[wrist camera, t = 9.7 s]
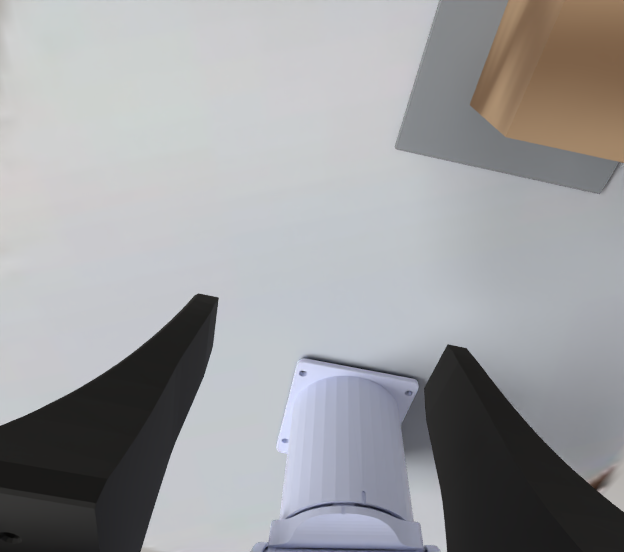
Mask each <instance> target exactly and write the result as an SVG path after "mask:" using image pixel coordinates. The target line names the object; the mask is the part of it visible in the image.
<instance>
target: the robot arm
mask: <svg viewBox="0 0 624 552" xmlns="http://www.w3.org/2000/svg"><path fill="white" fill-rule="evenodd" d="M218 299H219V298H218V297H213V296H208V295H203V294H197V295H195V296H194V297H193V298H192V299H191V300H190V301H189V302H188V304H187V305H186V306H185V307H184V308H183V309H182V310H181V311H180V312H179V313H178V314H177V315H176V316H175V317H174V318H173V319H172V320H171V321H170V322H169V323H167V324H166V325H165V326H164V327H163V328H162V329H161V330H160V331H159V332H158V333H156V334H155V335H154V336H153V337H152V338H151V339H149V340H148V341H147V342H146V343H144V344H143V345H142V346H141V347H139V348H138V349H137V350H136V351H134V352H133V353H132V354H131V355H129V356H128V357H127V358H125V359H124V360H122V361H121V362H120V363H118V364H117V365H115V366H114V367H112V368H111V369H109V370H108V371H106V372H105V373H103V374H102V375H100V376H99V377H97V378H95V379H94V380H92V381H90V382H89V383H87V384H85V385H84V386H82V387H80V388H79V389H77V390H75V391H73V392H71V393H70V394H68V395H66V396H64V397H62V398H60V399H58V400H56V401H54V402H52V403H50V404H48V405H46V406H44V407H42V408H40V409H38V410H36V411H34V412H32V413H30V414H28V415H25V416H23V417H21V418H18V419H16V420H13V421H11V422H9V423H6V424H4V425H1V426H0V552H140V551H141V548H142V545H143V541H144V538H145V535H146V532H147V528H148V525H149V522H150V518H151V515H152V512H153V509H154V506H155V502H156V499H157V496H158V493H159V490H160V486H161V483H162V480H163V477H164V474H165V471H166V468H167V465H168V462H169V459H170V455H171V453H172V450H173V447H174V445H175V442H176V440H177V437H178V435H179V433H180V430H181V428H182V426H183V423H184V421H185V419H186V417H187V414H188V412H189V410H190V407H191V405H192V403H193V400H194V398H195V396H196V393H197V391H198V389H199V386H200V384H201V382H202V379H203V377H204V374H205V371H206V367H207V364H208V361H209V357H210V354H211V351H212V347H213V340H214V331H215V323H216V315H217V307H218ZM301 371H306V372H301ZM418 389H419V384H418V381H417V380H415V379H412V378H407V377H401V376H396V375H391V374H386V373H380V372H375V371H370V370H364V369H359V368H354V367H348V366H343V365H338V364H332V363H327V362H322V361H316V360H311V359H300V360H299V361H298V362H297V365H296V369H295V373H294V377H293V381H292V385H291V389H290V393H289V397H288V401H287V405H286V409H285V413H284V417H283V421H282V425H281V429H280V433H279V437H278V441H277V445H276V449H277V451H279V452H281V453H286V454H287V461H286V469H285V478H284V486H283V495H282V504H281V512H280V520H273V521H271V528H270V535H269V542H258V543H256V544H255V545H254V546H253V548H252V549H251V551H250V552H441V551H440V549H439V548H438V547H437V546H434V545H424V546H423V540H422V533H421V526H420V523H419V522H414V519H413V512H412V505H411V497H410V490H409V483H408V475H407V468H406V460H405V453H404V446H403V438H402V431H401V424H402V422H403V420H404V418H405V416H406V414H407V412H408V410H409V408H410V405H411V403H412V401H413V399H414V397H415V395H416V393H417V391H418ZM408 390H410V391H408ZM424 392H425V409H426V420H427V425H428V430H429V435H430V440H431V445H432V450H433V455H434V460H435V464H436V469H437V474H438V479H439V484H440V489H441V495H442V501H443V510H444V520H445V530H446V541H447V552H624V512H623V511H621V510H620V509H619V508H618V507H616V506H615V505H614V504H612V503H611V502H610V501H609V500H608V499H606V498H605V497H604V496H603V495H601V494H600V493H599V492H598V491H597V490H595V489H594V488H593V487H592V486H591V485H590V484H589V483H587V482H586V481H585V480H584V479H583V478H582V477H581V476H579V475H578V474H577V473H576V472H575V471H574V470H573V469H572V468H571V467H569V466H568V465H567V464H566V463H565V462H564V461H563V460H562V459H561V458H560V457H559V456H558V455H557V454H556V453H555V452H554V451H553V450H552V449H551V448H550V447H549V446H548V445H547V444H546V443H545V442H544V441H543V440H542V439H541V438H540V437H539V436H538V435H537V434H536V433H535V431H534V430H533V429H532V428H531V427H530V426H529V425H528V424H527V422H526V421H525V420H524V419H523V418H522V417H521V416H520V414H519V413H518V412H517V411H516V410H515V409H514V407H513V406H512V405H511V404H510V403H509V401H508V400H507V399H506V398H505V396H504V395H503V394H502V393H501V391H500V390H499V389H498V388H497V386H496V385H495V384H494V382H493V381H492V380H491V379H490V377H489V376H488V375H487V373H486V372H485V371H484V370H483V368H482V367H481V366H480V364H479V363H478V362H477V361H476V359H475V358H474V357H473V356H472V354H471V353H470V352H469V351H468V350H467V348H462V347H457V346H453V345H447V347H446V349H445V351H444V352H443V354H442V356H441V358H440V360H439V362H438V364H437V365H436V367H435V369H434V371H433V373H432V375H431V377H430V379H429V380H428V382H427V384H426V386H425V388H424Z"/></svg>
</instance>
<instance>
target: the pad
mask: <svg viewBox="0 0 624 552" xmlns="http://www.w3.org/2000/svg"><path fill="white" fill-rule="evenodd" d="M507 3H508V0H440V1H439V4H438V7H437V11H436V14H435V17H434V20H433V24H432V27H431V30H430V34H429V37H428V40H427V43H426V47H425V50H424V53H423V56H422V60H421V63H420V66H419V69H418V73H417V76H416V79H415V83H414V86H413V89H412V92H411V96H410V99H409V102H408V105H407V109H406V112H405V115H404V118H403V122H402V125H401V128H400V131H399V135H398V138H397V141H396V145H395V149H397V150H401V151H406V152H411V153H415V154H420V155H424V156H429V157H433V158H438V159H442V160H447V161H451V162H456V163H461V164H465V165H470V166H474V167H479V168H483V169H488V170H492V171H497V172H501V173H506V174H511V175H515V176H520V177H524V178H529V179H533V180H538V181H542V182H547V183H551V184H556V185H560V186H565V187H570V188H574V189H579V190H583V191H588V192H592V193H597V194H600V193H601V192H602V190H603V188H604V187H605V185H606V183H607V182H608V180H609V178H610V177H611V175H612V173H613V172H614V170H615V168H616V167H617V165H618V163H619V162H618V161H613V160H609V159H604V158H599V157H595V156H590V155H586V154H581V153H576V152H572V151H567V150H563V149H558V148H553V147H549V146H544V145H540V144H535V143H530V142H526V141H521V140H516V139H512V138H507V137H505V136H504V135H503V134H502V133H500V132H499V131H498V130H497V129H496V128H495V127H494V126H493V125H491V124H490V123H489V122H488V121H487V120H486V119H485V118H484V117H482V116H481V115H480V114H479V113H478V112H477V111H476V110H475V109H473V108H472V107H471V106H470V102H471V100H472V97H473V94H474V92H475V89H476V86H477V84H478V81H479V78H480V76H481V73H482V70H483V67H484V65H485V62H486V59H487V57H488V54H489V51H490V49H491V46H492V43H493V41H494V38H495V35H496V33H497V30H498V27H499V25H500V22H501V19H502V17H503V14H504V11H505V8H506V6H507Z"/></svg>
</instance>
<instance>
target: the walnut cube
mask: <svg viewBox="0 0 624 552" xmlns="http://www.w3.org/2000/svg"><path fill="white" fill-rule="evenodd" d="M470 106H471V107H472V108H473V109H475V110H476V111H477V112H478V113H479V114H480V115H481V116H482V117H484V118H485V119H486V120H487V121H488V122H489V123H490V124H491V125H493V126H494V127H495V128H496V129H497V130H498V131H499V132H500V133H502V134H503V135H504V136H505V137H507V138H512V139H516V140H521V141H526V142H530V143H535V144H540V145H544V146H549V147H553V148H558V149H563V150H567V151H572V152H576V153H581V154H586V155H590V156H595V157H599V158H604V159H609V160H613V161H618V162H623V163H624V0H508V3H507V6H506V8H505V11H504V14H503V17H502V19H501V22H500V25H499V27H498V30H497V33H496V35H495V38H494V41H493V43H492V46H491V49H490V51H489V54H488V57H487V59H486V62H485V65H484V67H483V70H482V73H481V76H480V78H479V81H478V84H477V86H476V89H475V92H474V94H473V97H472V100H471V102H470Z"/></svg>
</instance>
